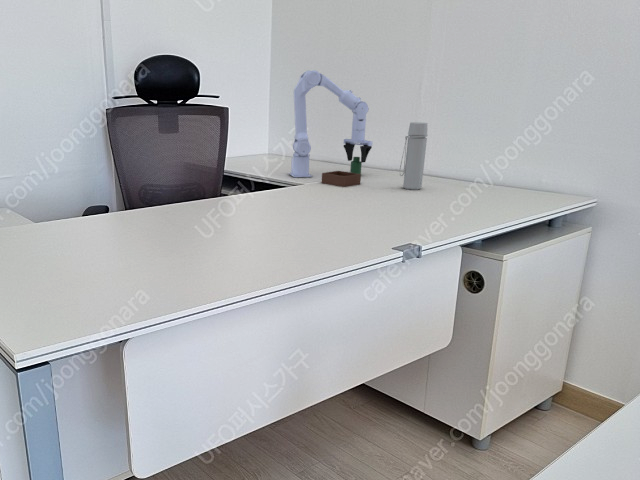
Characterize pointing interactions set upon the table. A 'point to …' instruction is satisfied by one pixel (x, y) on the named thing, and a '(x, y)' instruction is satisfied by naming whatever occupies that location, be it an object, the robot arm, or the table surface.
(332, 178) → the tray
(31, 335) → the table surface
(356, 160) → the green bottle
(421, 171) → the water bottle
